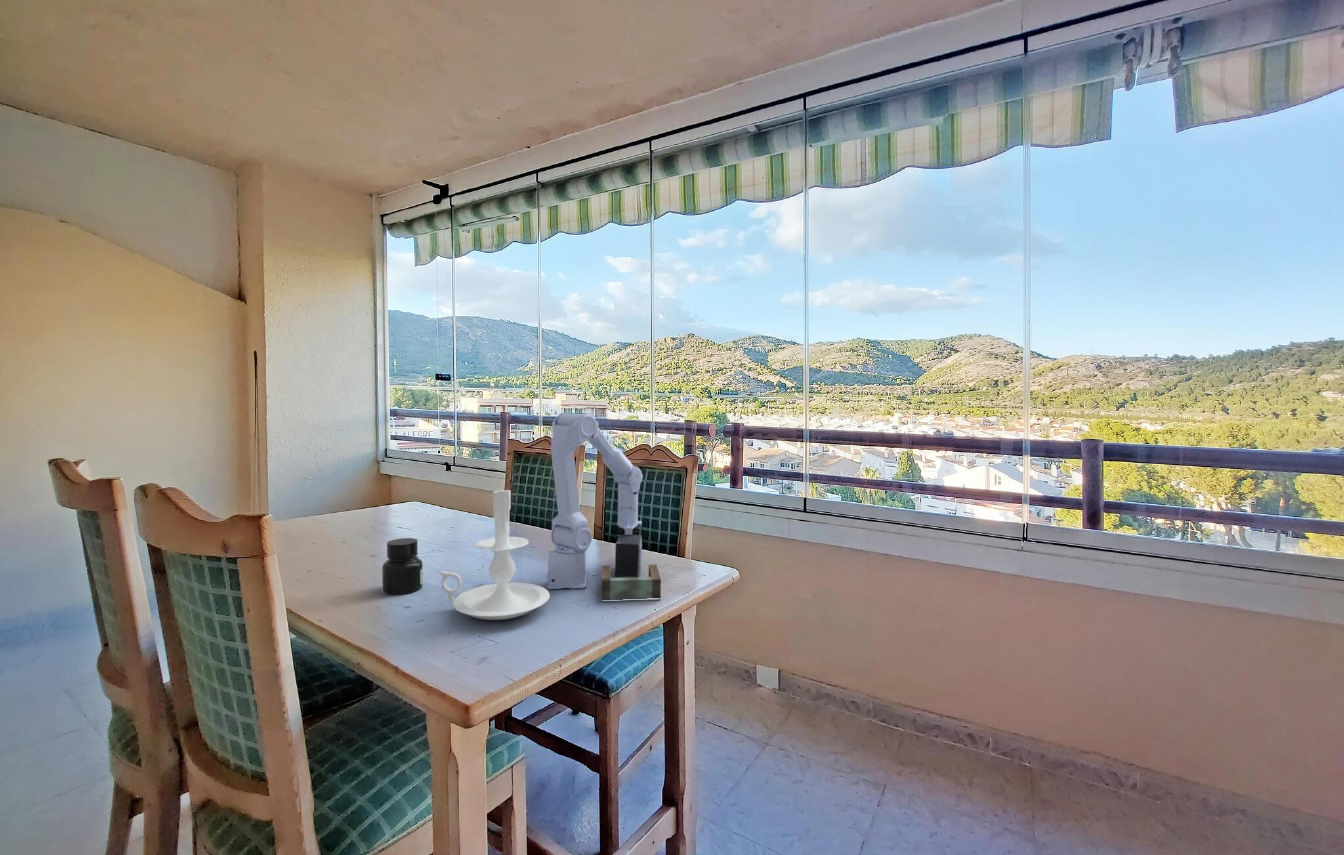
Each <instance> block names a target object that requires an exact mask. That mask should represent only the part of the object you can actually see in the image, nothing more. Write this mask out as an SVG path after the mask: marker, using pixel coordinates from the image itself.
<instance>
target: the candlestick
mask: <svg viewBox="0 0 1344 855" xmlns="http://www.w3.org/2000/svg"><path fill="white" fill-rule="evenodd" d="M511 496H512V493H511V490H510V489H505V490H502V489H501V487H499V490H495V491H492V500H493V501H492V502H493V503H492V508H493V518H492V519H493V520H494V537H490V538H485V539H481V540H479V541H477V542H475V544H474V546H475V547H476V549H477V548H478V549H480V550H485V551H491V552H493V554H494V555H493V559H492V560H491V562H490V564H489V567H488V573H489V575H490V578H491V579H492V581H494V583H490V584H485V585H481V586H478V587H475V588H470V589H468V590H467V591H466V590H465V591H464V592H462V593H461V594H459V595H457V596H456V597H454V594H455V593H457V592H459V591H460V589H461V588H462V586H463V580H462V578H461V576H460V575H459V573H457V572H447V571H444V570H443V571H442V570H440V571H439V572H438V574H440V575H441V576H442V578H441V582H440V584H441V587H442V589H443V591H445V593H446V594H447V596H448V600H449V601H451V602H452V606H453V608H454V609H455V610H456V611H457V612H459V613H462V614H464V615H468V616H470V617H473V618H474V619H475V618H476V619H480V620H488V621H498V620H499V621H500V620H509V619H514V618H517V617H521V616H523V615H526V614H528V613H530V612H532V611H534V610H536V609H537V608H539V607H541V606H543V605H544V604H546V603H547V601H549V599H550V592H549V591H548V590H547V589H546V588H544V587H543V586H540V585H538V584H534V583H527V582H510V581H511V580H512V578H513V577H514V575H515V572H516V570H517V569H516V568H517V567H516V563H515V561H514V560H513V558H512V556H511V553H512V551H513V550H515V549H520V548H522V547H525V546H527V545H528V544H529V542H530V541H529V540H528V539H527V538H525V537H520V536H510V532H511V530H510V510H511V507H512V506H511V505H512V503H511V502H512V500H511ZM449 577H453V578H455V579H456V581H457V587H455V589H452V588H449V587H448V586H447V585H446V580H447V578H449Z"/></svg>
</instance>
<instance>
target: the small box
mask: <svg viewBox="0 0 1344 855" xmlns="http://www.w3.org/2000/svg"><path fill="white" fill-rule="evenodd" d="M642 539H643V538H642V534H637V535H625V534H620V535H618V538H617V540H616V542H615V551H614V552H615V553H614V554H615V555H614V556H615V557H614V559H615V560H614V562H615V565H614V578H630V577H640V575H641V572H642V548H643V547H642V546H643V544H642V543H643V542H642ZM640 571H641V572H640Z"/></svg>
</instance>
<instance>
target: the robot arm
mask: <svg viewBox="0 0 1344 855" xmlns="http://www.w3.org/2000/svg"><path fill="white" fill-rule="evenodd" d="M599 425H600V424H599V421H597V420H596V418H595V417H594V416H593V415H592V414H590V413H568V412H560V413H559V414H557V416H556V417H555V418H554V420H553V421H552V423H551V427H552V438H551V444H550V452H551V453H550V454H551V461H552V462H551V463H552V470H553V480H554V488H555V496H556V497H555V498H556V505H557V515H556V516H554V518H553V519H551V520H552V521H551V525H552V526H551V530H550V540H551V542H552V544H554V546H555V547H554V548H555V549H552V550H551V549H550V550H549V551H548V558H547V560H548V561H547V589H548V590H552V589H553V590H558V589H561V588H570V589H586V588H587V584H588V577H587V575H586V552H587V551H588V548H589V547H590V546H591V544H592V540H593V534H592V533H593V532H592V531H591V529H590V527H589V521H588V519H587V518H586V517H585V516H584V515H583V514H582V512H581V506H580V505H581V504H580V498H579V488H578V481H577V479H578V478H577V471H576V470H577V469H576V460H575V451H576V450H577V449H578V448H580V447H581V446H582V445H583V444H584V443H586V442H588V443H589V444H590V445H592V447H594V449H596V450H597V452H599V454H601V455H602V462H603V464H604V465H605V466H606V468H608V469H609V471H610V472H611V473H612V476H613V480H614V482H615V483H617V486H618V487H617V522H616V524H617V525H616V526H618V527H619V528H617V533H618V536H620V534H625V535H638V526H642V525H643V523H642V521H641V520H639V519H638V518H639V517H638V516H639V514H638V513H639V492H640V490H641V487H640V486H641V483H642V481H643V477H644V475H643V473H642V470H641V469H640V468H639V467H638V466H636V465H633V463H632V461H631V459H628V458H627V456H626V455H625V454H624V450H623V449H622V448H619V447H613V446H612V444H611V443H610V442H609V441H608V438H607V437H606V436H605V435H604V433H603V432H602V431H601V429H600V428H599ZM586 583H587V584H586ZM585 587H586V588H585ZM561 590H562V589H561Z"/></svg>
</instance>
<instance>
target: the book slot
mask: <svg viewBox="0 0 1344 855" xmlns="http://www.w3.org/2000/svg"><path fill="white" fill-rule="evenodd" d="M601 566H602V568H601V601H602V600H623V599H647V598H661V595H662V594H661V591H662V590H661V589H662V588H661V587H662V586H661V585H662V584H661V582H662V579H661V576H660V570H659V567H658V565H657V564H648V576H639V577H630V578H615V577H611V565H609V564H608V565H607V564H606V565H601Z"/></svg>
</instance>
